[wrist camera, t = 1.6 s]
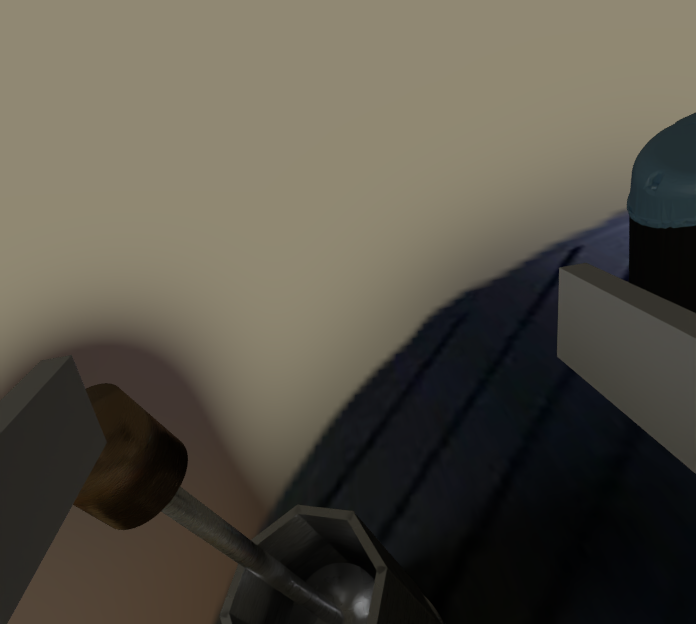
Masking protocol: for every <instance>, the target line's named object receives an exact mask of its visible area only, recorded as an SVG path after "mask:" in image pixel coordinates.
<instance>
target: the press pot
mask: <svg viewBox="0 0 696 624" xmlns="http://www.w3.org/2000/svg"><path fill="white" fill-rule="evenodd" d="M251 541H252V542H254V543H255V544H256V545H258V546H259V547H260V548H261V549H263V550H264V551H265V552H267V553H268V554H269V555H271V556H272V557H273V558H275V559H276V560H277V561H279V562H280V563H281V564H282V565H284V566H285V567H286V568H288V569H289V570H290V571H292V572H293V573H294V574H296V575H297V576H298V577H300V578H301V579H302V580H303V581H305V582H306V581H307V580H308V578H309V577H310V576H311V575H313V574H314V573H315V572H316V571H318V570H319V569H321V568H323V567H325V566H327V565H330V564H333V563H341V562H343V563H350V564H354V565H356V566H359V567H360V568H362V569H364V570H365V571H366V572H367V573H368V574H369V575H371V576H372V577H373V579H374V580H375V583H374V588H373V593H372V598H371V603H370V608H369V614H368V619H367V624H444V622H443V620H442V618H441V616H440V615H439V613H438V611H437V610H436V609H435V607H434V606H433V604H432V603H431V602H430V601H429V600H428V599H427V598H426V597H425V596H424V595H423V593H422V592H421V590H420V588H419V587H418V585H417V584H416V583H415V582H414V581H413V580H412V579H411V577H410V576H409V575H408V574H407V573H406V572H405V570H404V569H403V568H402V567H401V566H400V565H399V563H398V562H397V561H396V560H395V559H394V558H393V556H392V555H391V554H390V553H389V552H388V551H387V550H386V548H385V547H384V546H383V545H382V544H381V543H380V541H379V540H378V539H377V538H376V537H375V536H374V534H373V533H372V532H371V531H370V530H369V529H368V527H367V526H366V525H365V524H364V523H363V522H362V521H361V519H360V518H359V517H358V516H357V515H356V514H355V512H354V511H346V510H337V509H329V508H320V507H311V506H303V505H297V506H295V507H294V508H293V509H291V510H290V511H289V512H287V513H286V514H285V515H283V516H282V517H281V518H280V519H278V520H277V521H276V522H274V523H273V524H272V525H270V526H269V527H268V528H266V529H265V530H264V531H262V532H261V533H260V534H259V535H257V536H256V537H255V538H253V539H252V540H251ZM293 604H294V601H293V600H291V599H290V598H288V597H287V596H286V595H284V594H283V593H281V592H280V591H278V590H277V589H275V588H274V587H272V586H271V585H269V584H268V583H266V582H265V581H263V580H262V579H260V578H259V577H257V576H256V575H255V574H253V573H252V572H250V571H249V570H247V569H246V568H244V567H243V566H241V565H240V564H238V567H237V569H236V572H235V575H234V578H233V580H232V583H231V586H230V588H229V591H228V594H227V597H226V599H225V602H224V605H223V607H222V610H221V613H220V618H221V622H222V624H290V615H291V611H292V607H293Z"/></svg>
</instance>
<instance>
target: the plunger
mask: <svg viewBox="0 0 696 624" xmlns="http://www.w3.org/2000/svg"><path fill="white" fill-rule="evenodd" d="M86 392H87V394H88V397H89V399H90V402H91V404H92V407H93V409H94V412H95V414H96V417H97V419H98V422H99V424H100V426H101V429H102V431H103V434H104V436H105V439H106V441H107V443H106V445H105V447H104V449H103V451H102V452H101V454H100V456H99V458H98V460H97V462H96V463H95V465H94V467H93V469H92V471H91V472H90V474H89V476H88V478H87V480H86V482H85V483H84V485H83V487H82V489H81V491H80V492H79V494H78V496H77V498H76V500H75V501H74V503H73V505H74V506H76V507H78V508H80V509H81V510H83V511H85V512H86V513H88V514H90V515H92V516H93V517H95V518H97V519H98V520H100V521H102V522H104V523H105V524H107V525H109V526H111V527H113V528H115V529H118V530H128V529H132V528H136V527H138V526H140V525H142V524H144V523H146V522H148V521H149V520H151V519H152V518H154V517H155V516H156V515H157V514H158V513H159V512H163V513H164V514H166V515H167V516H169V517H171V518H172V519H173V520H175V521H176V522H178V523H179V524H181V525H182V526H184V527H185V528H187V529H188V530H190V531H191V532H192V533H194V534H195V535H197V536H199V537H200V538H202V539H203V540H204V541H206V542H207V543H209V544H210V545H212V546H213V547H215V548H216V549H218V550H219V551H221V552H222V553H224V554H225V555H227V556H228V557H229V558H231V559H233V560H234V561H235V562H237V563H238V564H240V565H241V566H243V567H244V568H246V569H247V570H249V571H250V572H252V573H253V574H255V575H256V576H257V577H259V578H260V579H262V580H263V581H265V582H266V583H268V584H269V585H271V586H272V587H274V588H275V589H277V590H278V591H280V592H281V593H283V594H284V595H286V596H287V597H288V598H290V599H291V600H293V601H294V604H293V607H292V611H291V615H290V624H367V619H368V614H369V608H370V603H371V598H372V593H373V588H374V583H375V580H374V579H373V577H372V576H371V575H369V574H368V573H367V572H366V571H365V570H364V569H362V568H360V567H359V566H356V565H354V564H350V563H343V562H341V563H333V564H330V565H327V566H325V567H323V568H321V569H319V570H318V571H316V572H315V573H314V574H313V575H311V576H310V577H309V578H308V580H307V581H306V582H305V581H303V580H302V579H301V578H300V577H298V576H297V575H296V574H294V573H293V572H292V571H290V570H289V569H288V568H286V567H285V566H284V565H282V564H281V563H280V562H279V561H277V560H276V559H275V558H273V557H272V556H271V555H269V554H268V553H267V552H265V551H264V550H263V549H261V548H260V547H259V546H258V545H256V544H255V543H254V542H252V541H251V540H250V539H248V538H247V537H246V536H244V535H243V534H242V533H240V532H239V531H238V530H236V529H235V528H234V527H232V526H231V525H230V524H229V523H227V522H226V521H225V520H223V519H222V518H221V517H219V516H218V515H217V514H216V513H214V512H213V511H212V510H210V509H209V508H208V507H206V506H205V505H204V504H202V503H201V502H200V501H198V500H197V499H196V498H195V497H193V496H192V495H190V494H189V493H188V492H187V491H185V490H184V489H183V488H181V487H180V485H181V483H182V481H183V479H184V476H185V473H186V469H187V463H188V455H187V450H186V448H185V446H184V444H183V443H182V442H181V441H180V440H179V439H178V438H176V437H175V436H174V435H173V434H172V433H171V432H169V431H168V430H167V429H166V428H165V427H164V426H162V425H161V424H160V423H159V422H158V421H157V420H156V419H154V418H153V417H152V416H151V415H150V414H148V413H147V412H146V411H145V410H144V409H143V408H142V407H141V406H139V405H138V404H137V403H136V402H135V401H134V400H132V399H131V398H130V397H129V396H128V395H127V394H125V393H124V392H123V391H122V390H121V389H120V388H119V387H117V386H116V385H113V384H107V383H105V384H98V385H94V386H91V387H89V388H87V389H86Z"/></svg>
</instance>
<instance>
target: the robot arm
mask: <svg viewBox="0 0 696 624" xmlns="http://www.w3.org/2000/svg"><path fill="white" fill-rule="evenodd" d="M627 210H628V212H629V216H630V218H629V281H628V282H626V281H624V280H622V279H620V278H618V277H616V276H613V275H611V274H609V273H607V272H605V271H603V270H600V269H598V268H596V267H594V266H592V265H589V264H587V263H583V264H577V265H572V266H566V267H561V268H559V304H558V341H557V357H559V358H560V359H561V360H562V361H563V362H564V363H566V364H567V365H568V366H569V367H570V368H572V369H573V370H574V371H575V372H576V373H577V374H579V375H580V376H581V377H582V378H583V379H585V380H586V381H587V382H588V383H589V384H590V385H592V386H593V387H594V388H595V389H596V390H598V391H599V392H600V393H601V394H602V395H603V396H605V397H606V398H607V399H608V400H609V401H610V402H612V403H613V404H614V405H615V406H616V407H618V408H619V409H620V410H621V411H622V412H623V413H625V414H626V415H627V416H628V417H629V418H631V419H632V420H633V421H634V422H635V423H636V424H638V425H639V426H640V427H641V428H642V429H644V430H645V431H646V432H647V433H648V434H649V435H651V436H652V437H653V438H654V439H655V440H657V441H658V442H659V443H660V444H661V445H662V446H664V447H665V448H666V449H667V450H668V451H670V452H671V453H672V454H673V455H674V456H675V457H677V458H678V459H679V460H680V461H681V462H683V463H684V464H685V465H686V466H687V467H688V468H690V469H691V470H692V471H693V472H694V473H695V474H696V113H694V114H691V115H689V116H687V117H685V118H683V119H681V120H679V121H677V122H676V123H675V124H673V125H671V126H669V127H667V128H666V129H664V130H662V131H661V132H660V133H658V134H657V135H656V136H654V137H653V138H652V139H651V140H650V141H649V142H648V143H647V144H646V145H645V147H644V148H643V149H642V150H641V151H640V153H639V155H638V156H637V158H636V160H635V163H634V165H633V170H632V178H631V189H630V194H629V196H628V199H627ZM106 443H107V441H106V439H105V436H104V434H103V431H102V429H101V426H100V424H99V422H98V419H97V417H96V414H95V412H94V409H93V407H92V404H91V402H90V399H89V397H88V394H87V392H86V389H85V387H84V384H83V382H82V380H81V377H80V375H79V372H78V370H77V367H76V365H75V362H74V360H73V358H72V355H70V356H65V357H59V358H53V359H48V360H42V361H40V362H39V363H38V364H37V365H36V366H35V367H34V368H33V369H32V370H31V371H30V372H29V373H28V374H27V375H26V376H25V377H24V378H23V379H22V380H21V381H20V382H19V383H18V384H17V385H16V386H15V387H14V388H13V389H12V390H11V391H10V392H9V393H8V394H7V395H6V396H5V397H4V398H3V399H1V401H0V624H7V623H8V621H9V619H10V618H11V616H12V614H13V612H14V610H15V609H16V607H17V605H18V603H19V601H20V599H21V598H22V596H23V594H24V592H25V590H26V589H27V587H28V585H29V583H30V581H31V579H32V578H33V576H34V574H35V572H36V570H37V569H38V567H39V565H40V563H41V561H42V560H43V558H44V556H45V554H46V552H47V550H48V548H49V547H50V545H51V543H52V541H53V540H54V538H55V536H56V534H57V532H58V531H59V528H60V527H61V525H62V523H63V521H64V520H65V518H66V516H67V514H68V512H69V511H70V509H71V507H72V505H73V503H74V501H75V500H76V498H77V496H78V494H79V492H80V491H81V489H82V487H83V485H84V483H85V482H86V480H87V478H88V476H89V474H90V472H91V471H92V469H93V467H94V465H95V463H96V462H97V460H98V458H99V456H100V454H101V452H102V451H103V449H104V447H105V445H106Z"/></svg>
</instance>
